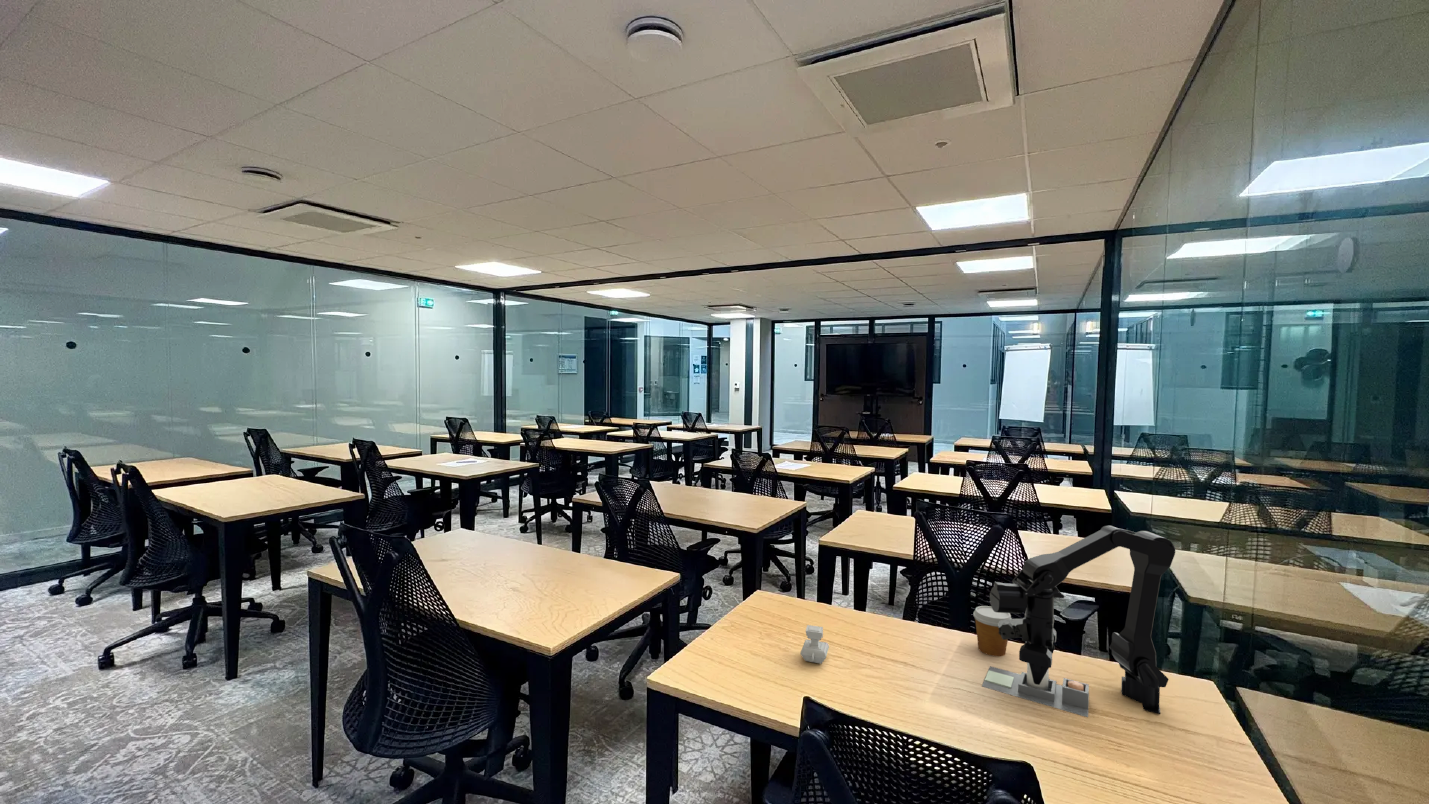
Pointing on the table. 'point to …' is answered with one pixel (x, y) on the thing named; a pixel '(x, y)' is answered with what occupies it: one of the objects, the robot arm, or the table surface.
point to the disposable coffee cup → (990, 630)
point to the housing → (1039, 691)
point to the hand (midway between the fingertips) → (1037, 679)
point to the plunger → (1075, 685)
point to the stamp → (814, 645)
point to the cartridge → (1044, 682)
